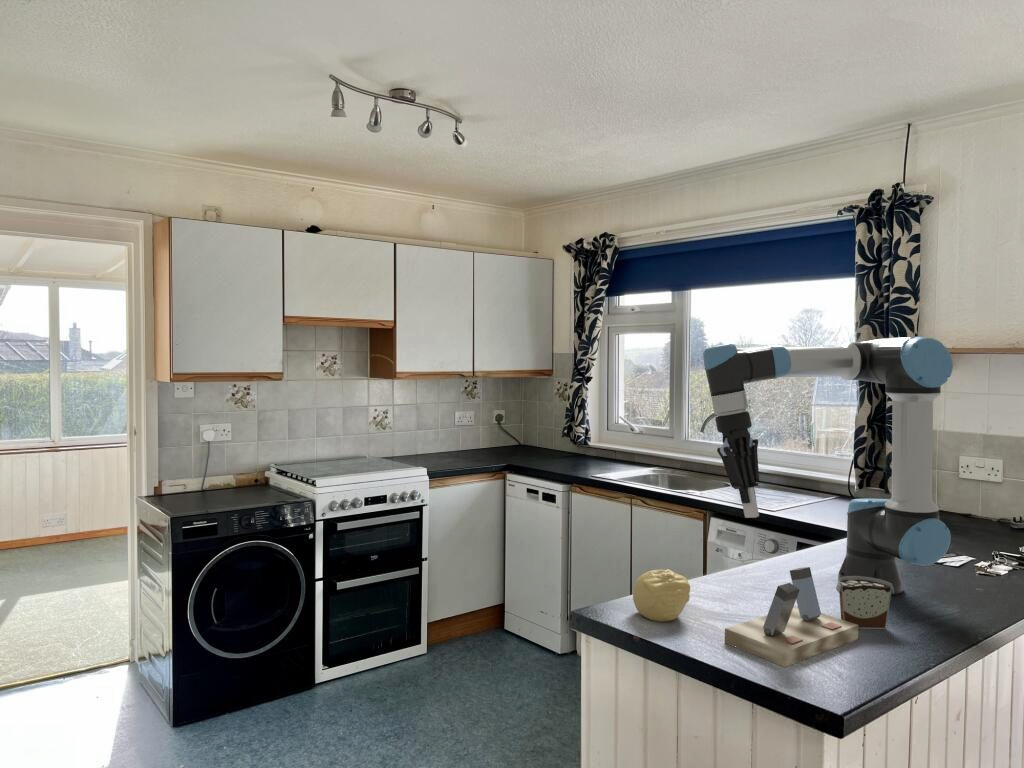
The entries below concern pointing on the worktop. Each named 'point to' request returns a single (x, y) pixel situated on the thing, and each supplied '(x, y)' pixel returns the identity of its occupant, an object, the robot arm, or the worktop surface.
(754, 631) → the switch board
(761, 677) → the worktop surface
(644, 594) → the pale yellow wrinkled ball
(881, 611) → the food container
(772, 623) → the lever
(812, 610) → the lever
